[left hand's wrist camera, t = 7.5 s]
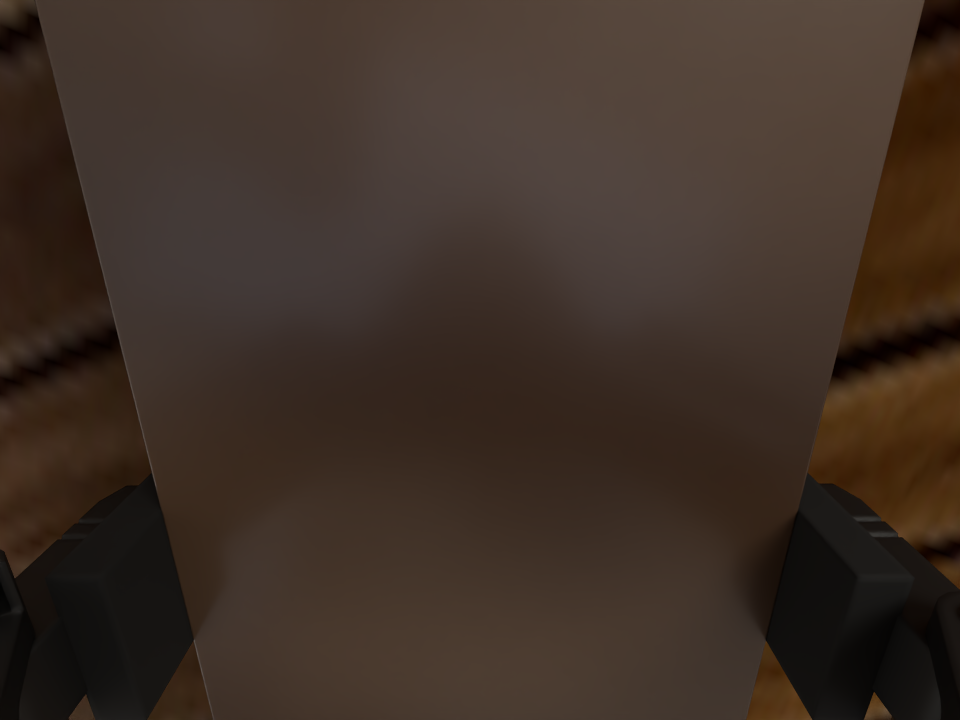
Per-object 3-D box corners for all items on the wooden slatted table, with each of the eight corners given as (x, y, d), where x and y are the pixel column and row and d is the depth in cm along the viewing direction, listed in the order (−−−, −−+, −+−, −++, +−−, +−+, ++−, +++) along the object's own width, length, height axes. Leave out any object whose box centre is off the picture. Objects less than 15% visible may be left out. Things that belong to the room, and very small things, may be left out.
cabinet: (262, -158, 13) (-157, -755, 4) (697, -158, 13) (1114, -755, 4) (335, 499, 19) (223, 767, 11) (623, 499, 19) (735, 767, 11)
